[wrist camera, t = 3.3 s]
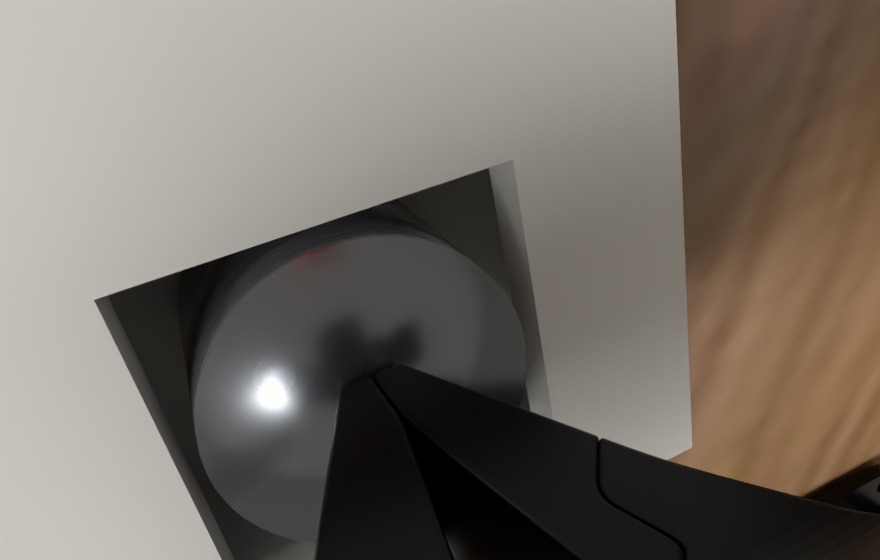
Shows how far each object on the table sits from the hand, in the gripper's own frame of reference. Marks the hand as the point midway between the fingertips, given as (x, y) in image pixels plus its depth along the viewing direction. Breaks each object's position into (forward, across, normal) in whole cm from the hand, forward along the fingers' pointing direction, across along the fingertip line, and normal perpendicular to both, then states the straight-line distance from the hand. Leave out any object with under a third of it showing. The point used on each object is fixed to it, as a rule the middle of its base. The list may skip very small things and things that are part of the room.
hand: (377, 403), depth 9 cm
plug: (+3, 0, 0) cm, 3 cm away
